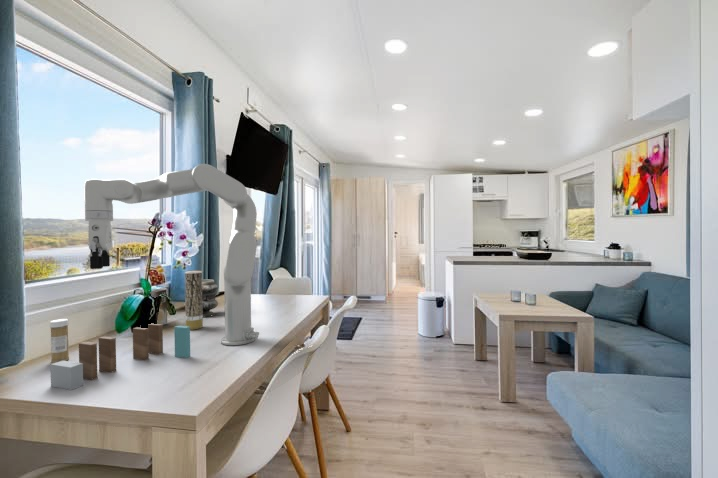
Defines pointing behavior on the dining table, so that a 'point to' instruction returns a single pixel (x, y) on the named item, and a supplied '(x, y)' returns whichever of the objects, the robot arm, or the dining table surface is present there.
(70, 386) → the end block
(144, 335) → the domino
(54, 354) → the sprinkles bottle
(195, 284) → the paper tube
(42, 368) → the dining table surface
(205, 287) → the stacked stone tower
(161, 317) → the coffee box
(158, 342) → the domino
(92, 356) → the domino
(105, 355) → the domino
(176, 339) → the domino
